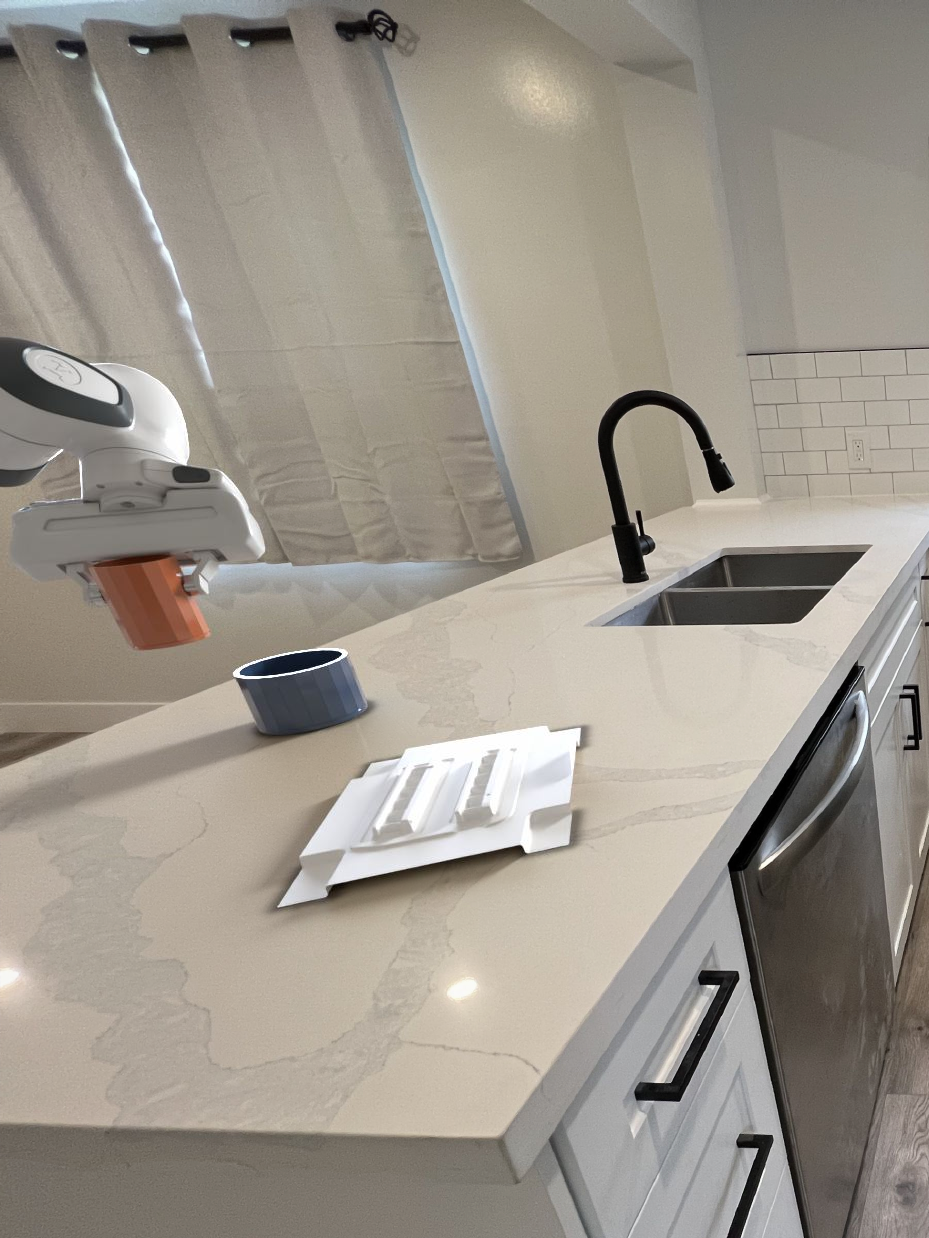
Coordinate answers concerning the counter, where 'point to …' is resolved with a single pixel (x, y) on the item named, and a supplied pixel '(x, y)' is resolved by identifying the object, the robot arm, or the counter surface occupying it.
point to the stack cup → (301, 691)
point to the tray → (444, 808)
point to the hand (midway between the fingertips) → (148, 598)
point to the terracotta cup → (150, 601)
